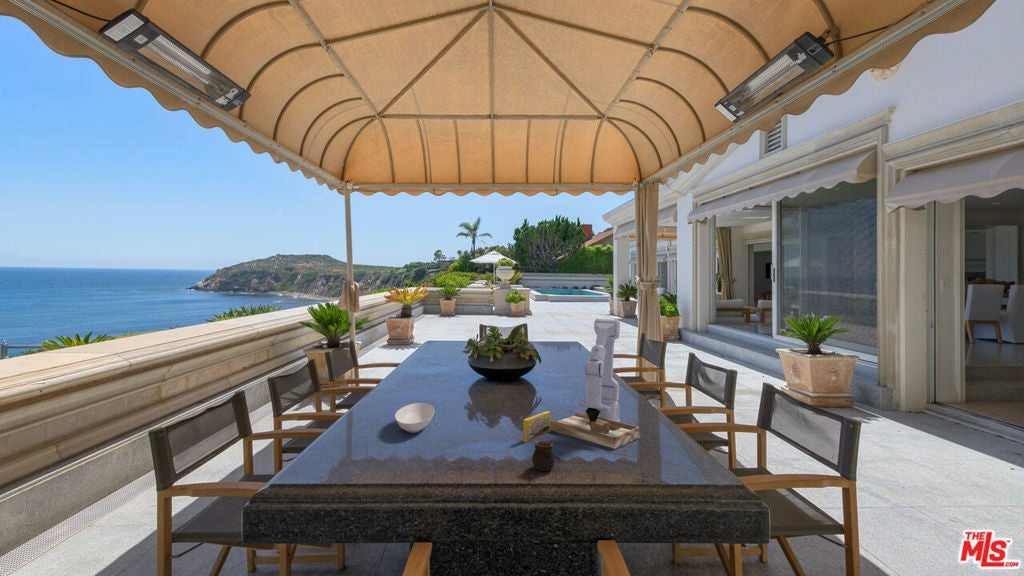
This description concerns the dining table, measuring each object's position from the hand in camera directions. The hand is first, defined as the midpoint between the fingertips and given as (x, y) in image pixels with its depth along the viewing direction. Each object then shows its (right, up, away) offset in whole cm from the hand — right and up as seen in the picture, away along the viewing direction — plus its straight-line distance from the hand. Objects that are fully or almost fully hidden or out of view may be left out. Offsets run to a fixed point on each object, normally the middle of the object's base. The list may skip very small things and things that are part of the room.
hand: (593, 427), depth 176 cm
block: (+2, -1, -2) cm, 3 cm away
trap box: (+1, -4, +5) cm, 6 cm away
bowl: (-70, -3, +9) cm, 70 cm away
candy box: (-22, -4, 0) cm, 22 cm away
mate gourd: (-21, -4, -31) cm, 38 cm away
